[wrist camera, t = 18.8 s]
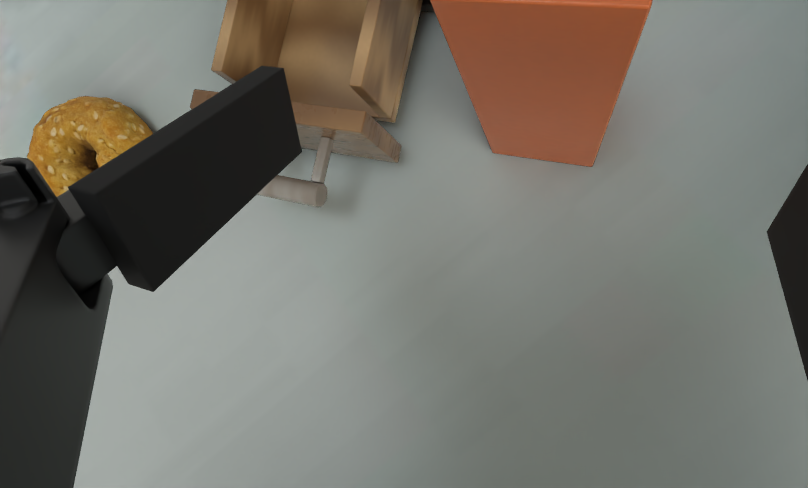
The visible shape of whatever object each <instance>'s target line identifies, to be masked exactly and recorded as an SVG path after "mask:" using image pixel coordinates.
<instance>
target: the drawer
mask: <svg viewBox="0 0 808 488" xmlns="http://www.w3.org/2000/svg"><path fill="white" fill-rule="evenodd" d="M422 2H423V0H227V4H226V9H225V13H224V17H223V21H222V26H221V30H220V34H219V38H218V42H217V47H216V51H215V55H214V59H213V64H212V68H211V70H212V71H213V72H215V73H217V74H218V75H220V76H221V77H223V78H224V79H226V80H227V81H229V82H231V83H232V84H233V83H235V82H236V81H238V80H240V79H241V78H243V77H244V76H246V75H248V74H249V73H251V72H252V71H254V70H256V69H257V68H259V67H260V66H270V67H279V68H284V72H285V76H286V81H287V85H288V90H289V94H290V99H291V104H292V108H293V113H294V117H295V122H296V126H297V131H298V135H299V140H300V145H301V147H302V148H308V149H314V150H318V151H317V156H316V160H315V164H314V169H313V173H312V177H311V181H312V182H311V181H306V180H301V179H295V178H290V177H285V176H279V175H277V176H276V177H275V178H274V179H272V180H271V181H270V182H269V183H268V184H267V185H266V186H265V187H264V188H263V189H262V190H261V191H260V192H259V193H258V194H257V195H262V196H266V197H271V198H276V199H281V200H286V201H291V202H296V203H301V204H306V205H310V206H315V207H321V206H323V205H324V203H325V201H326V199H327V187H326V186H325V185H324V180H325V176H326V172H327V167H328V163H329V159H330V154H331V152H333V153H339V154H345V155H352V156H358V157H364V158H370V159H377V160H383V161H389V162H395V163H397V162H398V160H399V155H400V151H401V144H399V143H398V142H397V141H396V140H395V139H394V138H393V137H392V136H391V135H390V134H389V133H388V132H387V131H386V130H385V129H384V128H383V127H382V126H381V125H380V124H379V123H378V122H377V121H385V122H393V123H395V120H396V116H397V112H398V107H399V103H400V98H401V94H402V90H403V85H404V81H405V76H406V72H407V68H408V63H409V59H410V54H411V50H412V46H413V41H414V37H415V32H416V28H417V24H418V19H419V15H420V10H421V6H422ZM217 93H219V92H213V91H205V90H197V89H195V90H194V92H193V96H192V101H191V105H190V108H191V109H193V108H195V107H197V106H198V105H200V104H201V103H203V102H205V101H206V100H208V99H209V98H211V97H213V96H214V95H216V94H217ZM376 120H377V121H376Z"/></svg>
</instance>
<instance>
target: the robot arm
mask: <svg viewBox="0 0 808 488" xmlns="http://www.w3.org/2000/svg"><path fill="white" fill-rule="evenodd" d="M301 152H302V149H301V145H300V140H299V135H298V131H297V126H296V122H295V117H294V113H293V108H292V104H291V99H290V94H289V90H288V85H287V81H286V76H285V72H284V68H279V67H270V66H260V67H259V68H257V69H256V70H254V71H252V72H251V73H249V74H248V75H246V76H244V77H243V78H241V79H240V80H238V81H236V82H235V83H233V84H232V85H230V86H228V87H227V88H225V89H224V90H222V91H220V92H219V93H217V94H216V95H214V96H213V97H211V98H209V99H208V100H206V101H205V102H203V103H201V104H200V105H198V106H197V107H195V108H193V109H192V110H190V111H189V112H187V113H185V114H184V115H182V116H181V117H179V118H177V119H176V120H174V121H173V122H171V123H169V124H168V125H166V126H165V127H163V128H161V129H160V130H158V131H157V132H155V133H153V134H152V135H150V136H149V137H147V138H145V139H144V140H142V141H141V142H139V143H138V144H136V145H134V146H133V147H131V148H130V149H128V150H126V151H125V152H123V153H122V154H120V155H118V156H117V157H115V158H114V159H112V160H110V161H109V162H107V163H106V164H104V165H102V166H101V167H99V168H98V169H96V170H94V171H93V172H91V173H90V174H88V175H86V176H85V177H83V178H82V179H80V180H78V181H77V182H75V183H74V184H72V185H70V186H69V187H68V189H69V190H67V191H66V192H64V193H63V194H61V195H60V196H58V197H56V196H55V194H54V193H53V191H52V190H51V188H50V187H49V185H48V184H47V182H46V181H45V179H44V178H43V176H42V175H41V173H40V171H39V170H38V168H37V167H36V165H35V164H34V162H32V161H31V160H30V159H28V158H20V157H17V158H8V159H3V160H0V488H73V486H74V481H75V476H76V471H77V466H78V461H79V456H80V451H81V446H82V441H83V436H84V430H85V425H86V420H87V415H88V410H89V405H90V400H91V395H92V390H93V385H94V380H95V375H96V370H97V365H98V360H99V355H100V350H101V344H102V339H103V334H104V329H105V324H106V319H107V314H108V309H109V304H110V299H111V294H112V289H113V285H112V280H111V279H110V277H109V276H108V274H107V273H109V272H110V271H111V270H112V269H113V268H115V267H116V266H118V268H119V269H120V271H121V273H122V274H123V276H124V277H125V279H126V281H127V282H128V284H130V285H133V286H136V287H140V288H143V289H146V290H149V291H152V292H154V291H155V290H156V289H157V288H158V287H159V286H160V285H161V284H162V283H163V282H164V281H165V280H166V279H167V278H169V277H170V276H171V275H172V274H173V273H174V272H175V271H176V270H177V269H178V268H179V267H180V266H181V265H182V264H183V263H184V262H186V261H187V260H188V259H189V258H190V257H191V256H192V255H193V254H194V253H195V252H196V251H197V250H198V249H199V248H200V247H201V246H202V245H204V244H205V243H206V242H207V241H208V240H209V239H210V238H211V237H212V236H213V235H214V234H215V233H216V232H217V231H218V230H219V229H221V228H222V227H223V226H224V225H225V224H226V223H227V222H228V221H229V220H230V219H231V218H232V217H233V216H234V215H235V214H236V213H237V212H239V211H240V210H241V209H242V208H243V207H244V206H245V205H246V204H247V203H248V202H249V201H250V200H251V199H252V198H253V197H254V196H256V195H257V194H258V193H259V192H260V191H261V190H262V189H263V188H264V187H265V186H266V185H267V184H268V183H269V182H270V181H271V180H272V179H274V178H275V177H276V176H277V175H278V174H279V173H280V172H281V171H282V170H283V169H284V168H285V167H286V166H287V165H288V164H289V163H291V162H292V161H293V160H294V159H295V158H296V157H297V156H298V155H299V154H300V153H301ZM767 234H768V238H769V241H770V245H771V249H772V252H773V256H774V260H775V263H776V267H777V271H778V274H779V278H780V282H781V285H782V289H783V292H784V296H785V300H786V303H787V307H788V311H789V314H790V318H791V322H792V325H793V329H794V333H795V336H796V340H797V343H798V347H799V351H800V354H801V358H802V362H803V365H804V369H805V373H806V376H807V380H808V164H807V166H806V168H805V169H804V171H803V173H802V174H801V176H800V178H799V179H798V181H797V183H796V184H795V186H794V188H793V189H792V191H791V193H790V194H789V196H788V198H787V199H786V201H785V202H784V204H783V206H782V207H781V209H780V211H779V212H778V214H777V216H776V217H775V219H774V221H773V222H772V224H771V226H770V227H769V229H768V231H767Z"/></svg>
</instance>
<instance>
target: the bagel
mask: <svg viewBox="0 0 808 488" xmlns="http://www.w3.org/2000/svg"><path fill="white" fill-rule="evenodd" d="M33 131H34V132H33V136H32V140H31V143H30V146H29V153H28V155H27V158H28V159H30V160H31V161H32V162H34V164H35V165H36V167H37V168H38V170H39V171H40V173H41V175H42V176H43V178H44V179H45V181H46V182H47V184H48V185H49V187H50V188H51V190H52V191H53V193H54V194H55V196H56V197H58V196H60V195H61V194H63V193H64V192H66V191H67V190H69V189H68V187H69V186H70V185H72V184H74V183H75V182H77V181H78V180H80V179H82V178H83V177H85V176H86V175H88V174H90V173H91V172H93V171H94V170H96V169H98V168H99V167H101V166H102V165H104V164H106V163H107V162H109V161H110V160H112V159H114V158H115V157H117V156H118V155H120V154H122V153H123V152H125V151H126V150H128V149H130V148H131V147H133V146H134V145H136V144H138V143H139V142H141V141H142V140H144V139H145V138H147V137H149V136H150V135H152V134H153V132H152V131H151V130H150V129H149V127H148V126H147V124H146V123H145V122H144V121H143V120H142V119H141V118H140V117H139V116H138V115H136V114H135V112H134V111H133V110H132V109H131V108H129V107H127V106H125V105H123V104H122V103H121V102H116V101H114V100H112V99H110V98H97V97H90V96H83V97H78V98H74V99H71V100H68V101H67V102H66V103H63V104H59V105H58V106H55V107H53V108H51V109H49V110H48V111H47V112H46V113H45V114H44V115H43V117H42V119H41V120H40V122H39V123H38V124H37V125H36V126H35V127H34V129H33Z"/></svg>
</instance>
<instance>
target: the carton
mask: <svg viewBox="0 0 808 488" xmlns="http://www.w3.org/2000/svg"><path fill="white" fill-rule="evenodd" d="M430 2H431V4H432V6H433V9H434V11H435V14H436V16H437V19H438V21H439V23H440V26H441V28H442V31H443V33H444V36H445V38H446V40H447V43H448V45H449V48H450V50H451V53H452V55H453V57H454V60H455V62H456V65H457V67H458V70H459V72H460V74H461V77H462V79H463V82H464V84H465V87H466V89H467V91H468V94H469V96H470V99H471V101H472V104H473V106H474V108H475V111H476V113H477V116H478V118H479V121H480V123H481V125H482V128H483V130H484V133H485V135H486V138H487V140H488V142H489V145H490V147H491V150H492V152H493V153H497V154H504V155H511V156H518V157H525V158H532V159H539V160H546V161H553V162H561V163H568V164H575V165H582V166H589V167H592V166H593V164H594V161H595V159H596V156H597V153H598V150H599V148H600V145H601V142H602V139H603V137H604V134H605V131H606V128H607V126H608V123H609V120H610V118H611V115H612V112H613V109H614V107H615V104H616V101H617V98H618V96H619V93H620V90H621V87H622V85H623V82H624V79H625V77H626V74H627V71H628V68H629V66H630V63H631V60H632V57H633V55H634V52H635V49H636V47H637V44H638V41H639V38H640V36H641V33H642V30H643V27H644V25H645V22H646V19H647V16H648V14H649V11H650V8H651V5H652V0H430Z"/></svg>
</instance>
